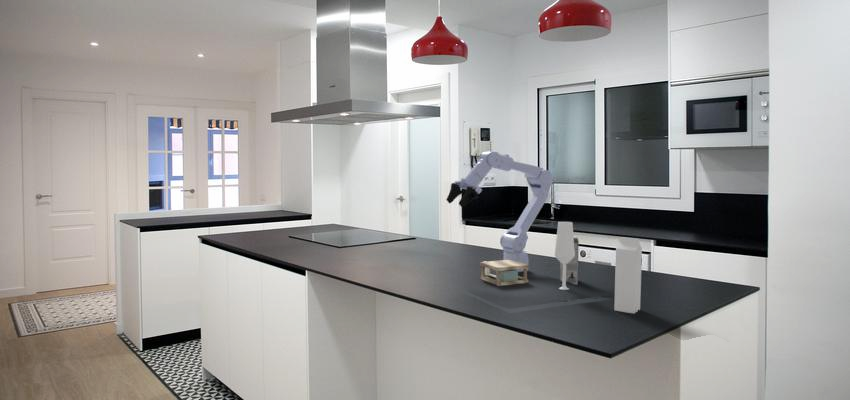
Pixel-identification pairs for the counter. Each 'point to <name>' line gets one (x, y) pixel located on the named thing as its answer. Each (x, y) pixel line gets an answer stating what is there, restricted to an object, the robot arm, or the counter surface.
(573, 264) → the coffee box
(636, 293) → the milk
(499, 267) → the shelf
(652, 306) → the counter surface
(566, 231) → the champagne flute
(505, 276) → the block
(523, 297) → the counter surface
